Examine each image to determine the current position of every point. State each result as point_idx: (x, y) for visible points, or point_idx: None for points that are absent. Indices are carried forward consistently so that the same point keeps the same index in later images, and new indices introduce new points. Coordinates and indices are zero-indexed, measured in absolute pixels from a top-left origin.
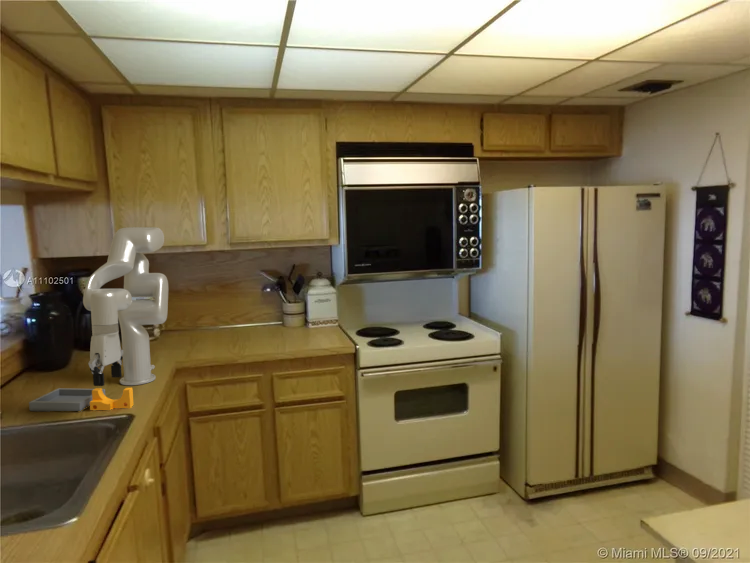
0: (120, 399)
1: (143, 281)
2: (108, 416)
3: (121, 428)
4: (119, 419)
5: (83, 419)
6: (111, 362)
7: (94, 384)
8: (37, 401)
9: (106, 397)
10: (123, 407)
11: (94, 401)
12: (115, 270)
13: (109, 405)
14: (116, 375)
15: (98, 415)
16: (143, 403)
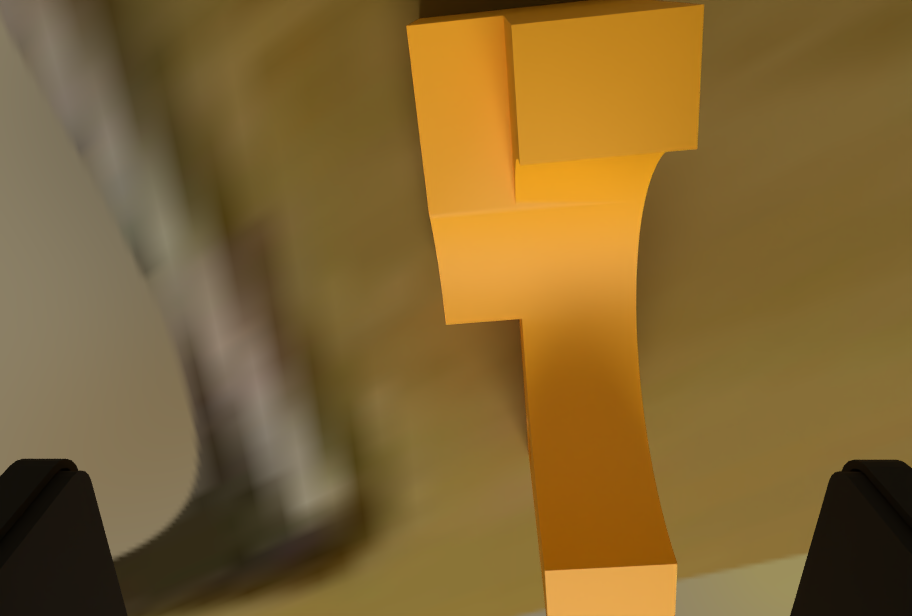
0: (532, 432)
1: None
2: (274, 357)
3: None
4: (219, 495)
5: (129, 119)
6: None
7: (16, 489)
8: None
9: (629, 192)
10: (525, 398)
11: (440, 97)
12: None
13: (444, 307)
14: (826, 609)
15: (284, 229)
16: (681, 511)
